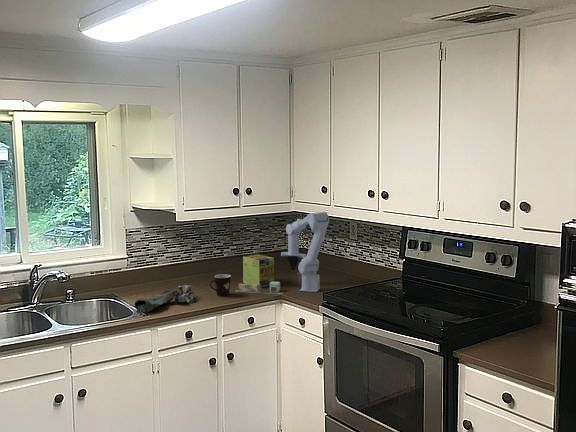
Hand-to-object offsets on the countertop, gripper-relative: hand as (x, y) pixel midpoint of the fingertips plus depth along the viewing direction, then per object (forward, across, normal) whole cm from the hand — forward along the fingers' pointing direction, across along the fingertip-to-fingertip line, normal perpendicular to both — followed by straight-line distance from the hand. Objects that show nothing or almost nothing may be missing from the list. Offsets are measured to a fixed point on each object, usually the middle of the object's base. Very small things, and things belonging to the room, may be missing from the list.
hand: (293, 269), depth 346 cm
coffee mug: (+9, -24, -38) cm, 45 cm away
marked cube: (+8, -2, -17) cm, 19 cm away
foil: (+9, -33, -55) cm, 65 cm away
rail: (+8, -8, -24) cm, 27 cm away
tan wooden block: (+8, -13, -25) cm, 30 cm away
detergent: (+9, -38, -70) cm, 80 cm away
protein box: (+9, -18, -8) cm, 21 cm away
